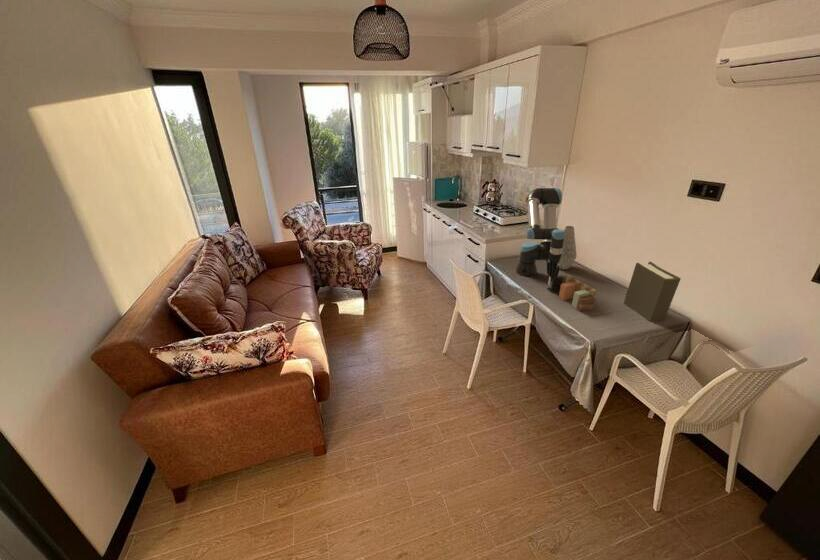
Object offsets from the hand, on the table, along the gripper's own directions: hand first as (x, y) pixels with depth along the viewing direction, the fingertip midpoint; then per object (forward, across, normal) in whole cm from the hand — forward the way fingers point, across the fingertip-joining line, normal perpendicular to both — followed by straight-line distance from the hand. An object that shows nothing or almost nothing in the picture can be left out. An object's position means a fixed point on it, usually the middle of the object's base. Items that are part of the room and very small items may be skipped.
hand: (550, 284), depth 227 cm
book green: (+2, +27, 0) cm, 27 cm away
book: (+3, +46, +30) cm, 55 cm away
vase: (+2, -25, +31) cm, 40 cm away
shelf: (+2, +20, +1) cm, 20 cm away
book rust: (+2, +16, 0) cm, 16 cm away
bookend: (+2, +4, 0) cm, 4 cm away
